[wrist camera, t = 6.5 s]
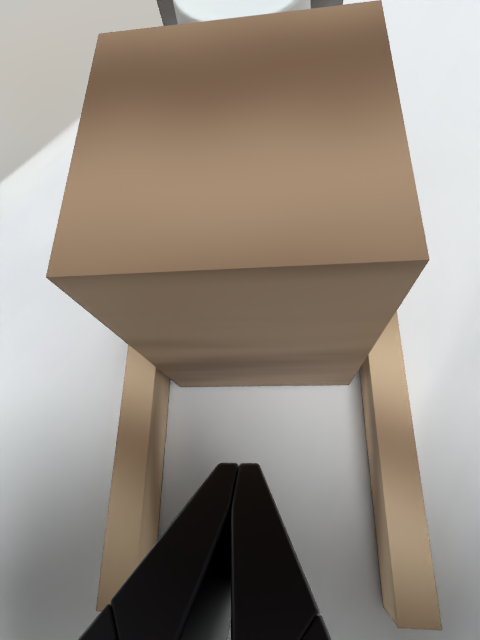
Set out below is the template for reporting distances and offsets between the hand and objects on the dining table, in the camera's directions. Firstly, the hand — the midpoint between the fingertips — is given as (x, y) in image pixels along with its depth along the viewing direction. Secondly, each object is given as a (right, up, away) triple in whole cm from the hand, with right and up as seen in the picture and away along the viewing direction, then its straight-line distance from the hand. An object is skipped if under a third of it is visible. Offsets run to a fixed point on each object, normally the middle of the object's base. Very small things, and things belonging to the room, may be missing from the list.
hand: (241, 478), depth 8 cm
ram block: (+1, +4, +9) cm, 10 cm away
